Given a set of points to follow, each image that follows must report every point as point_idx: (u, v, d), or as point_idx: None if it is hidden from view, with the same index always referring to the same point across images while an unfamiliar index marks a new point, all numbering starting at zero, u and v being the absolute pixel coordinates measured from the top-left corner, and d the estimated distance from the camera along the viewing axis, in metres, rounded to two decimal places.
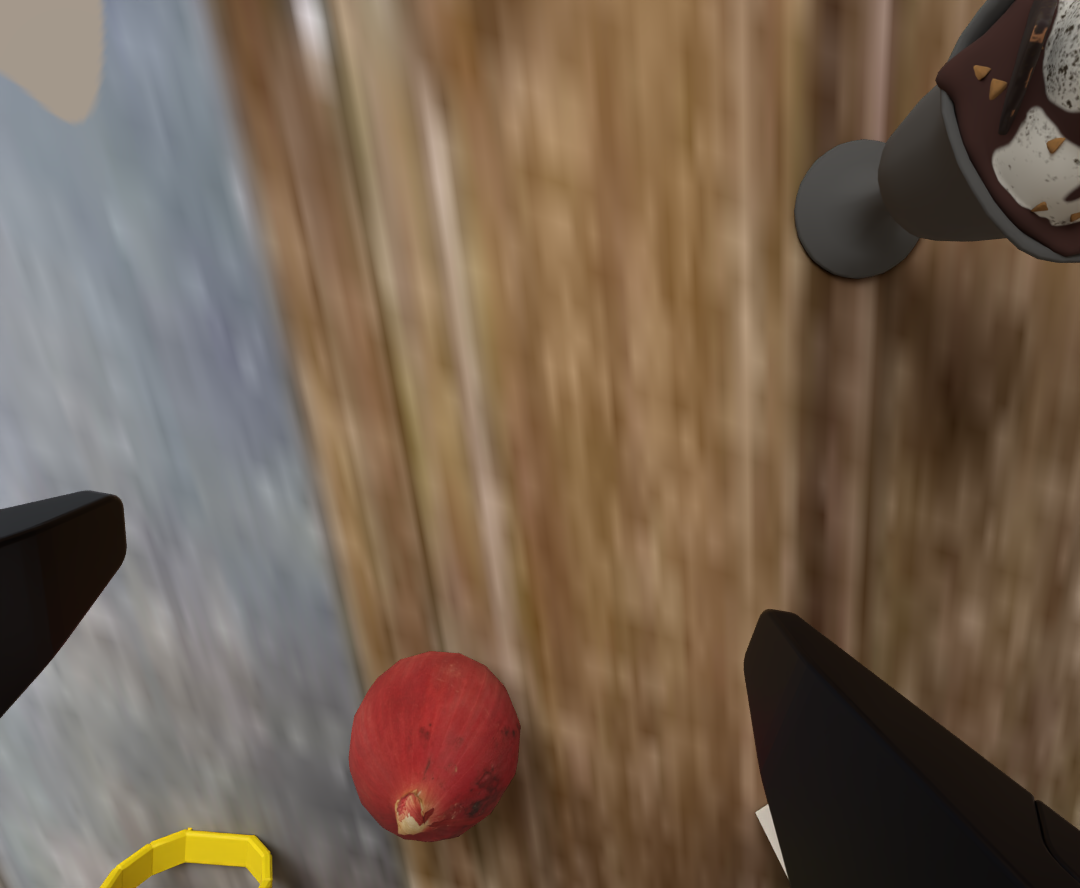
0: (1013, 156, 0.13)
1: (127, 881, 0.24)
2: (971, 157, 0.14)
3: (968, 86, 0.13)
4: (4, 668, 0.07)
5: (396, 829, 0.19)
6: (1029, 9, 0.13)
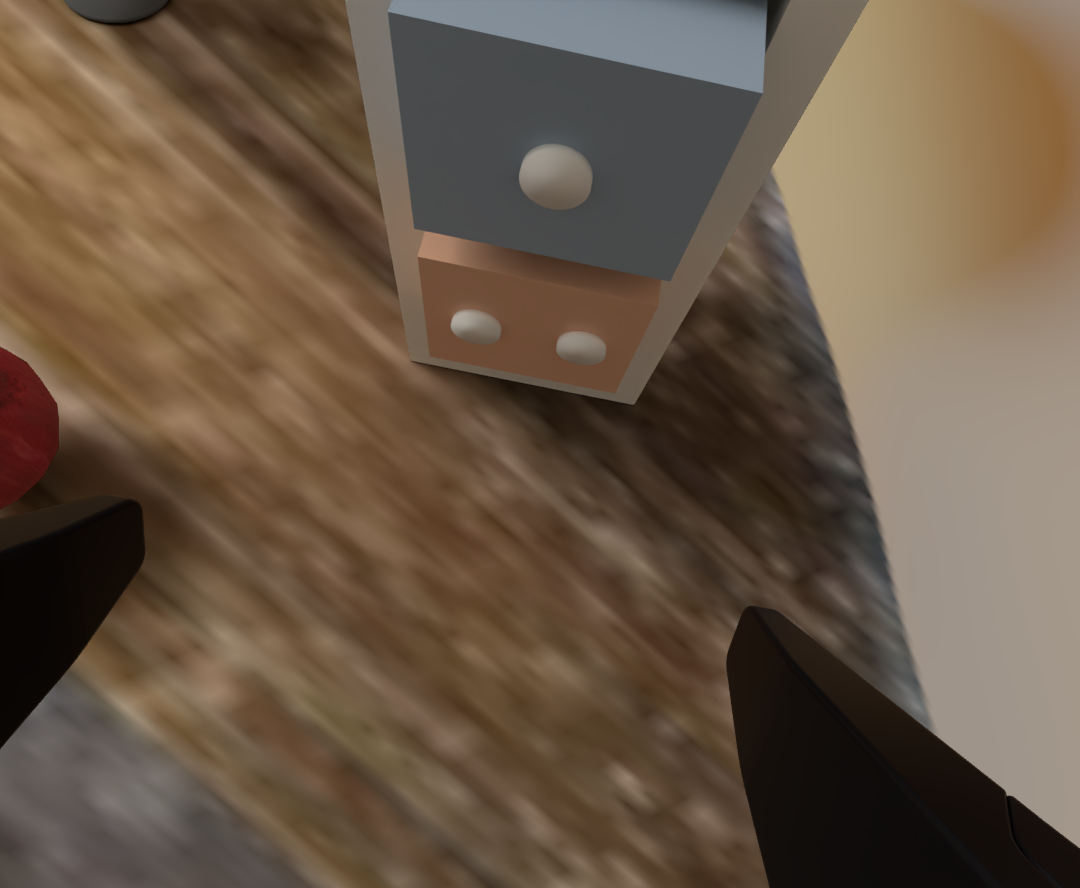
0: None
1: None
2: None
3: None
4: (27, 672, 0.07)
5: None
6: None
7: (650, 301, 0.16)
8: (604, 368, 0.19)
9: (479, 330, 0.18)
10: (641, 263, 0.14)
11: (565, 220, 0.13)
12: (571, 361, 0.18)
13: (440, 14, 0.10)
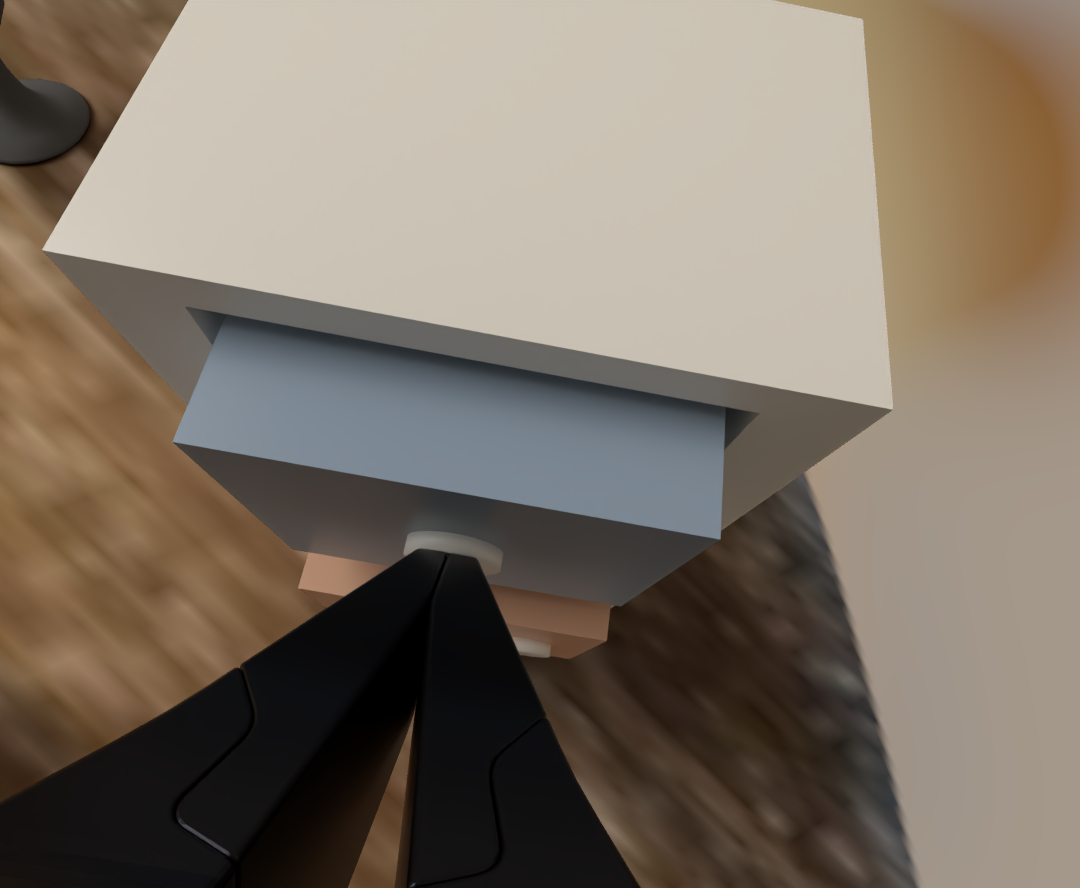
0: None
1: None
2: None
3: None
4: (399, 733, 0.07)
5: None
6: None
7: (597, 635, 0.12)
8: (552, 650, 0.16)
9: None
10: (581, 595, 0.11)
11: None
12: None
13: (252, 437, 0.07)
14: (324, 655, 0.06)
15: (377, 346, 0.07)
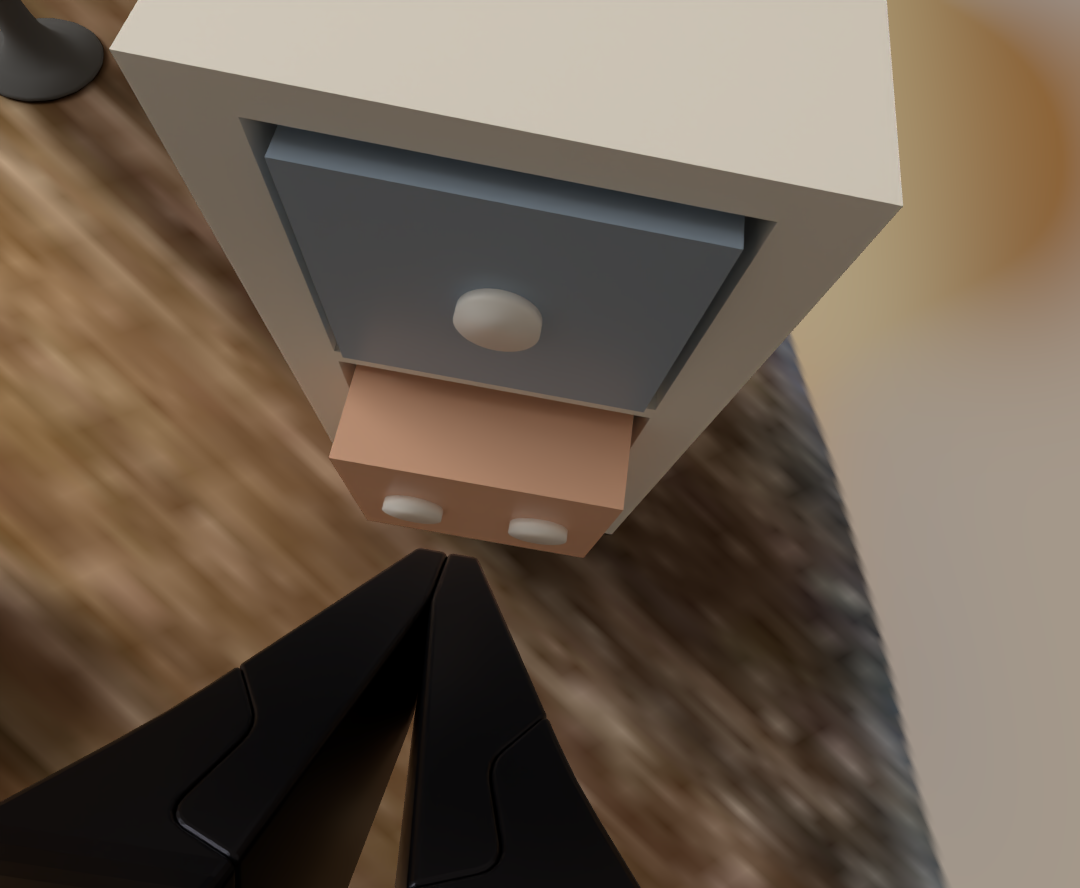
0: None
1: None
2: None
3: None
4: (398, 733, 0.07)
5: None
6: None
7: (614, 504, 0.13)
8: (567, 542, 0.16)
9: (415, 515, 0.15)
10: (608, 395, 0.12)
11: (515, 356, 0.11)
12: (527, 541, 0.16)
13: (333, 157, 0.08)
14: (324, 655, 0.06)
15: None
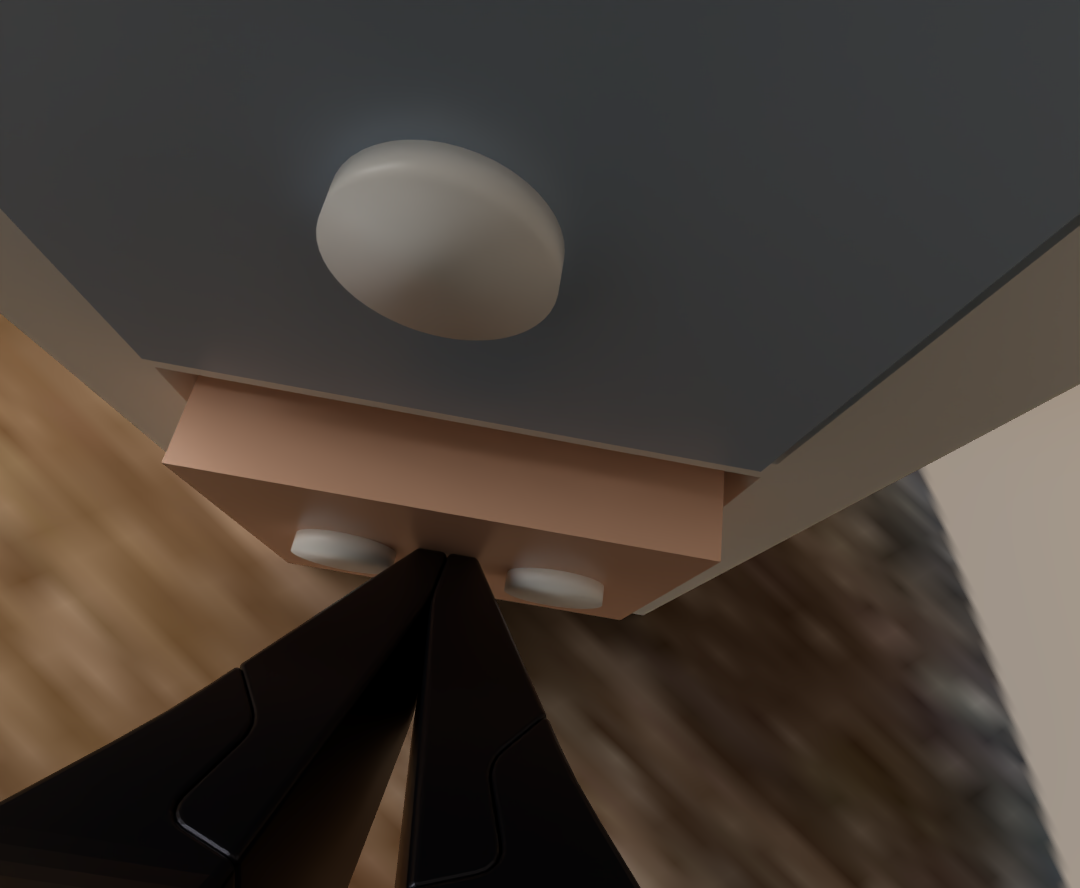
0: None
1: None
2: None
3: None
4: (398, 732, 0.07)
5: None
6: None
7: (702, 551, 0.07)
8: None
9: (348, 560, 0.09)
10: (695, 440, 0.06)
11: (497, 354, 0.05)
12: (536, 602, 0.10)
13: None
14: (324, 655, 0.06)
15: None
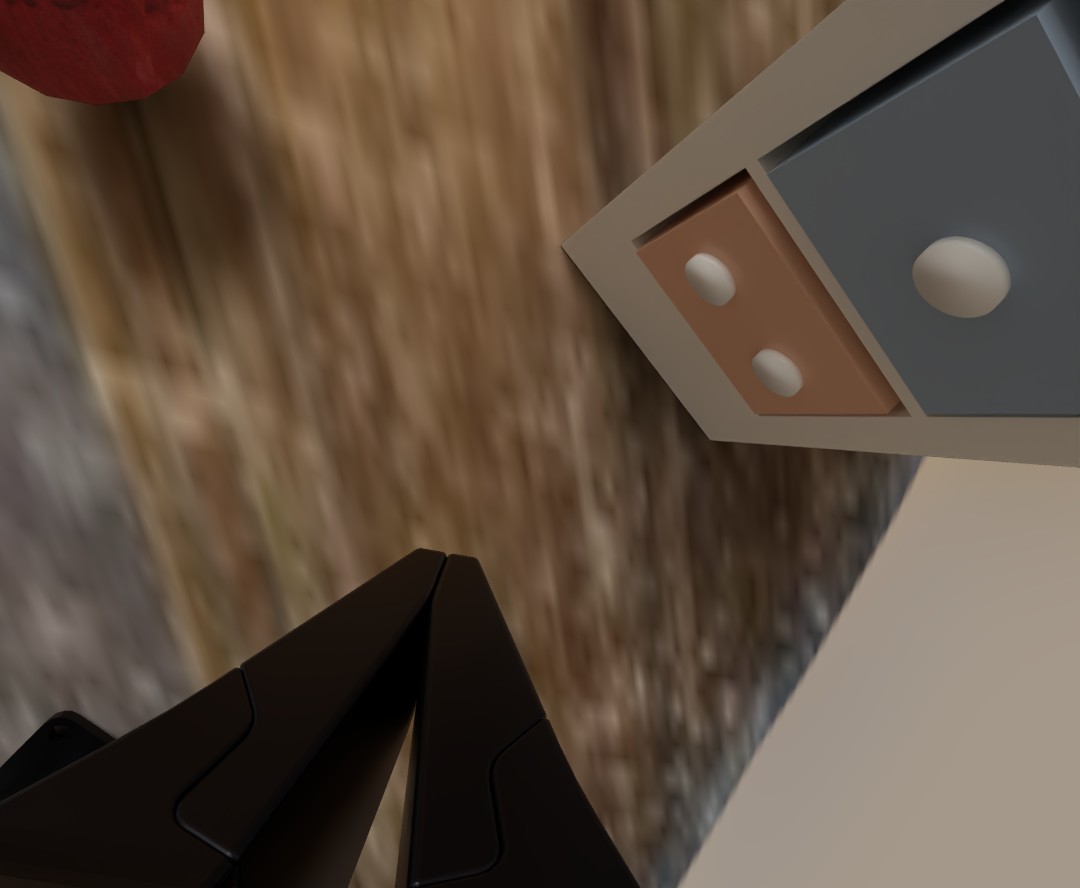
0: None
1: None
2: None
3: None
4: (398, 732, 0.07)
5: None
6: None
7: (884, 404, 0.14)
8: (773, 396, 0.18)
9: (711, 285, 0.16)
10: (923, 384, 0.13)
11: (911, 303, 0.11)
12: (756, 372, 0.17)
13: (1077, 65, 0.07)
14: (324, 655, 0.06)
15: None
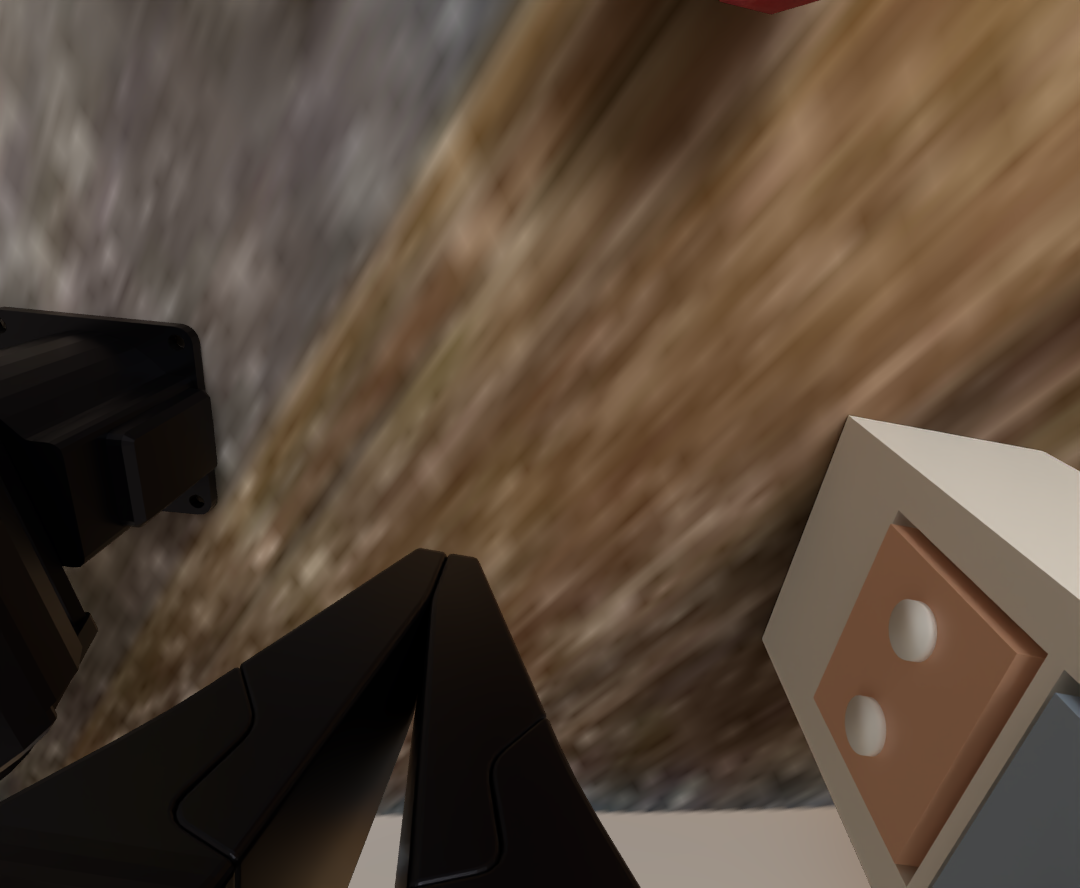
0: None
1: None
2: None
3: None
4: (399, 733, 0.07)
5: None
6: None
7: (901, 858, 0.14)
8: (840, 719, 0.17)
9: (907, 636, 0.15)
10: None
11: None
12: (852, 701, 0.16)
13: None
14: (324, 655, 0.06)
15: None
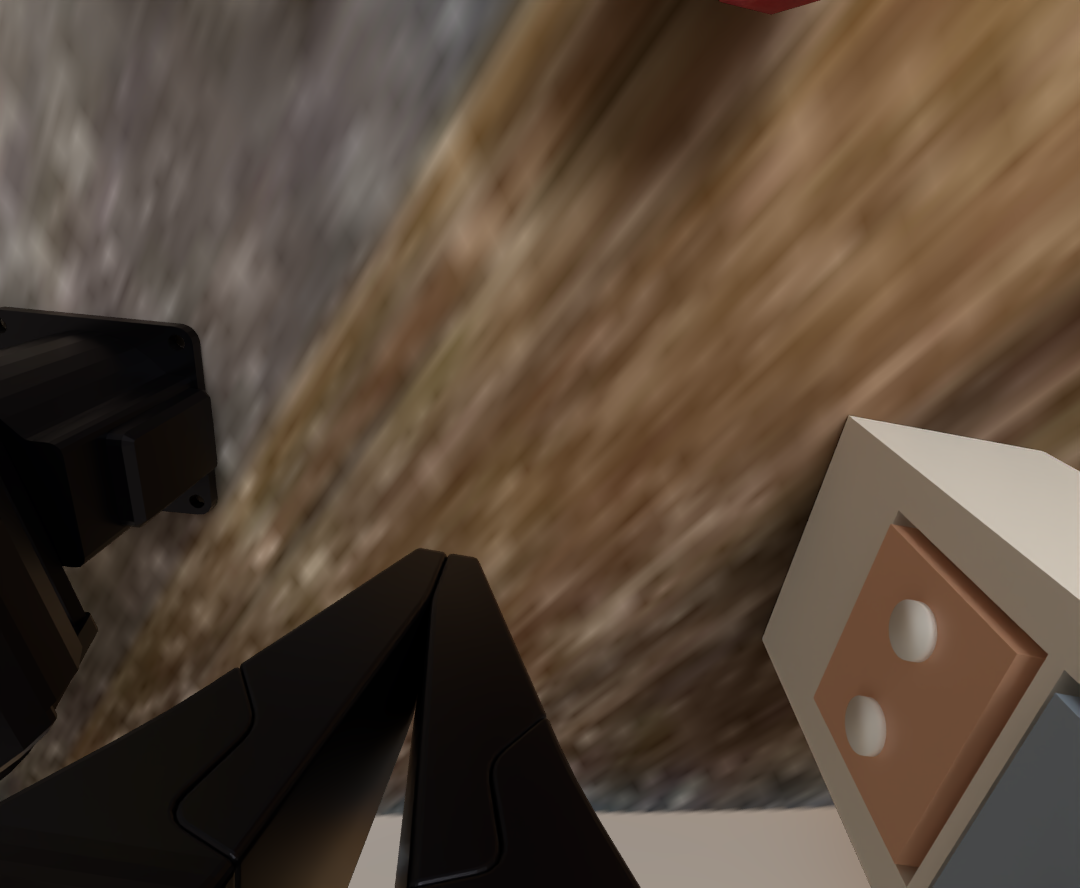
0: None
1: None
2: None
3: None
4: (399, 733, 0.07)
5: None
6: None
7: (901, 858, 0.14)
8: (840, 719, 0.17)
9: (907, 636, 0.15)
10: None
11: None
12: (852, 701, 0.16)
13: None
14: (324, 655, 0.06)
15: None
